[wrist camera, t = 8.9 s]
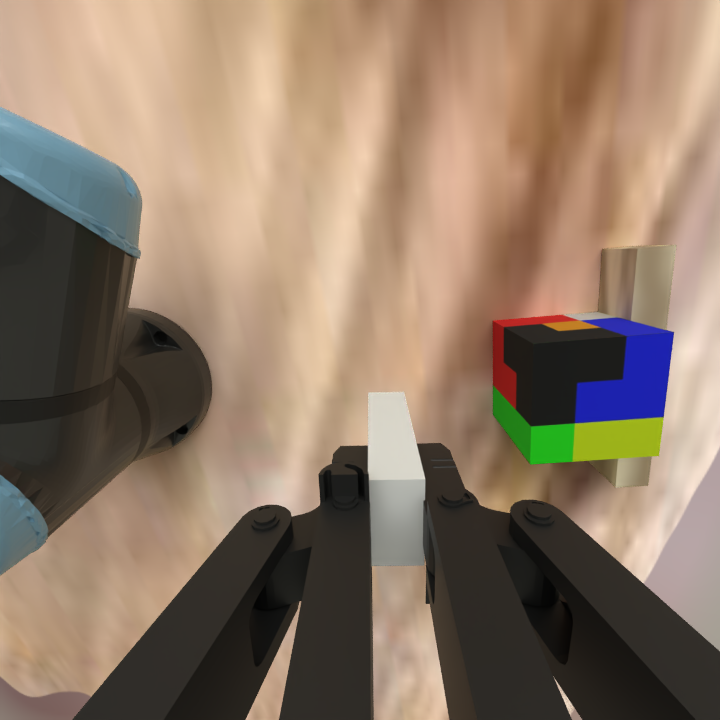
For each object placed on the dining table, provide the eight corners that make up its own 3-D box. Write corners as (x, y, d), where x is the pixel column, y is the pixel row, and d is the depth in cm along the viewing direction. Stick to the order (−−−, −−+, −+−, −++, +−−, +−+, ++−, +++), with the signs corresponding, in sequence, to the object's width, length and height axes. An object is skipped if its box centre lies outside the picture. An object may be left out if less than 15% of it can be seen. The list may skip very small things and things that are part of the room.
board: (587, 460, 42) (615, 487, 37) (602, 248, 36) (637, 248, 31) (616, 458, 42) (647, 485, 37) (635, 245, 36) (676, 244, 31)
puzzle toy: (597, 311, 38) (673, 332, 28) (590, 407, 41) (658, 455, 31) (492, 320, 38) (533, 343, 29) (492, 414, 41) (530, 464, 31)
